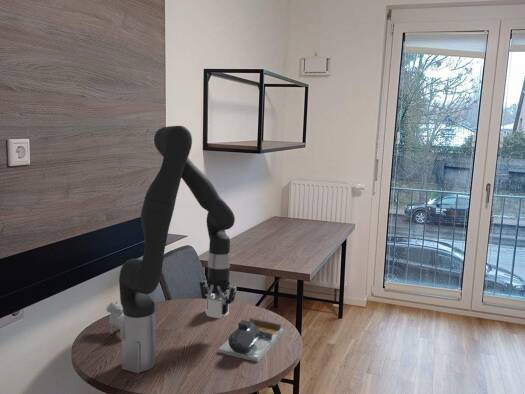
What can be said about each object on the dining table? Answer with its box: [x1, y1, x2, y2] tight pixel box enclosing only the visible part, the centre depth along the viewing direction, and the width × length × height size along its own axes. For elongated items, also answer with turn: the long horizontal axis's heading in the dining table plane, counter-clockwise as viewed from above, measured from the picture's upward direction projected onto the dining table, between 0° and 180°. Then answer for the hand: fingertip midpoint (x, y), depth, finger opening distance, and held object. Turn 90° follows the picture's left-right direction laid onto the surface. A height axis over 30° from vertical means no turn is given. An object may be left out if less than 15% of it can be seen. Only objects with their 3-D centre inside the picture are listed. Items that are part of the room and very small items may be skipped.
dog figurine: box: [106, 301, 124, 341], centre depth 168 cm, size 5×13×11 cm, turn 48°
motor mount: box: [218, 317, 285, 363], centre depth 164 cm, size 24×14×10 cm, turn 157°
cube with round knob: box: [206, 294, 227, 320], centre depth 166 cm, size 5×5×8 cm
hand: (217, 312), depth 166 cm, fingers closed on cube with round knob, 5 cm apart
